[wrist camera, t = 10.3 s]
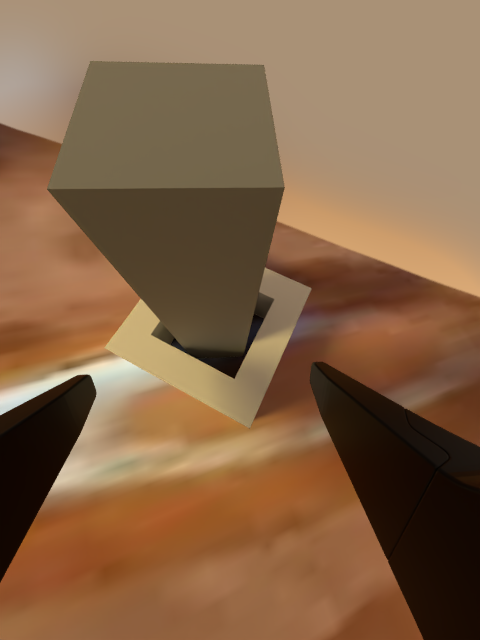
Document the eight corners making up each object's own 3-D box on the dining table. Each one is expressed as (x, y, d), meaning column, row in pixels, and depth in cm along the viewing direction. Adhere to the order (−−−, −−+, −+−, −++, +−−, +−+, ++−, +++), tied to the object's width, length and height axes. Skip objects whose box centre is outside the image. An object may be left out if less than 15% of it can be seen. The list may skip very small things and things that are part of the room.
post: (243, 356, 18) (285, 187, 4) (193, 358, 18) (47, 188, 4) (240, 310, 19) (263, 64, 5) (194, 312, 19) (90, 60, 5)
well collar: (296, 310, 20) (311, 288, 16) (245, 422, 16) (249, 428, 12) (197, 264, 21) (189, 233, 17) (131, 359, 18) (104, 348, 14)
